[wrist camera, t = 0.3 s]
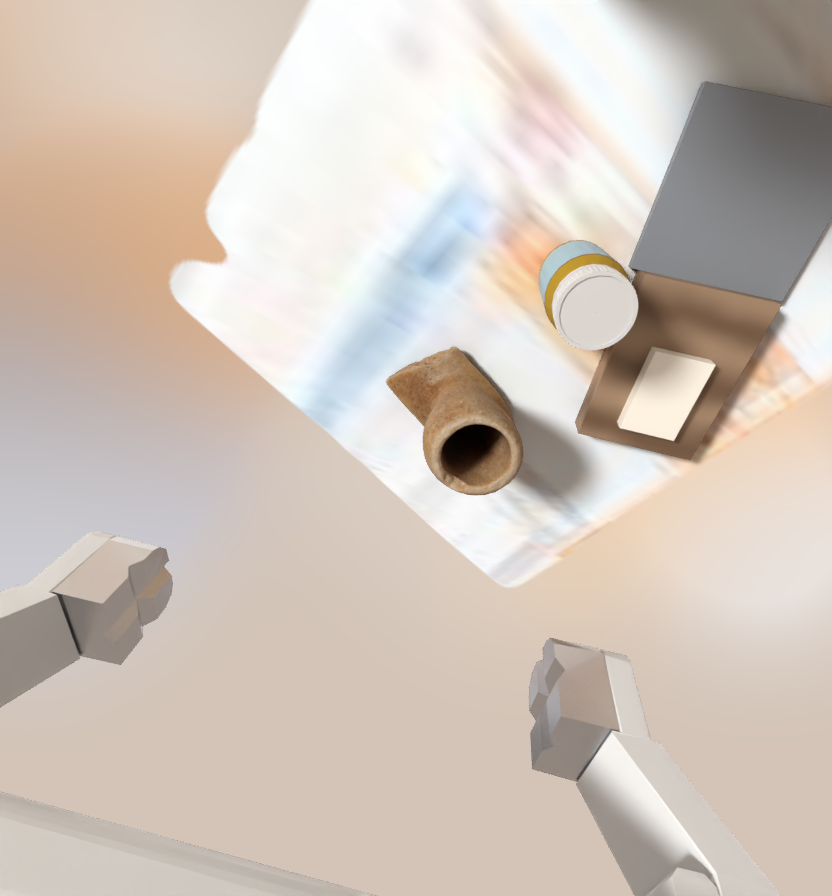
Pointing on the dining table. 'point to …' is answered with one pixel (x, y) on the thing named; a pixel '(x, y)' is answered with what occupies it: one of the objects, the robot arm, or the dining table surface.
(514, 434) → the stone cup
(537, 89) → the dining table surface
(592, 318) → the bottle
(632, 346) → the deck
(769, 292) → the mat
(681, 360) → the tile
